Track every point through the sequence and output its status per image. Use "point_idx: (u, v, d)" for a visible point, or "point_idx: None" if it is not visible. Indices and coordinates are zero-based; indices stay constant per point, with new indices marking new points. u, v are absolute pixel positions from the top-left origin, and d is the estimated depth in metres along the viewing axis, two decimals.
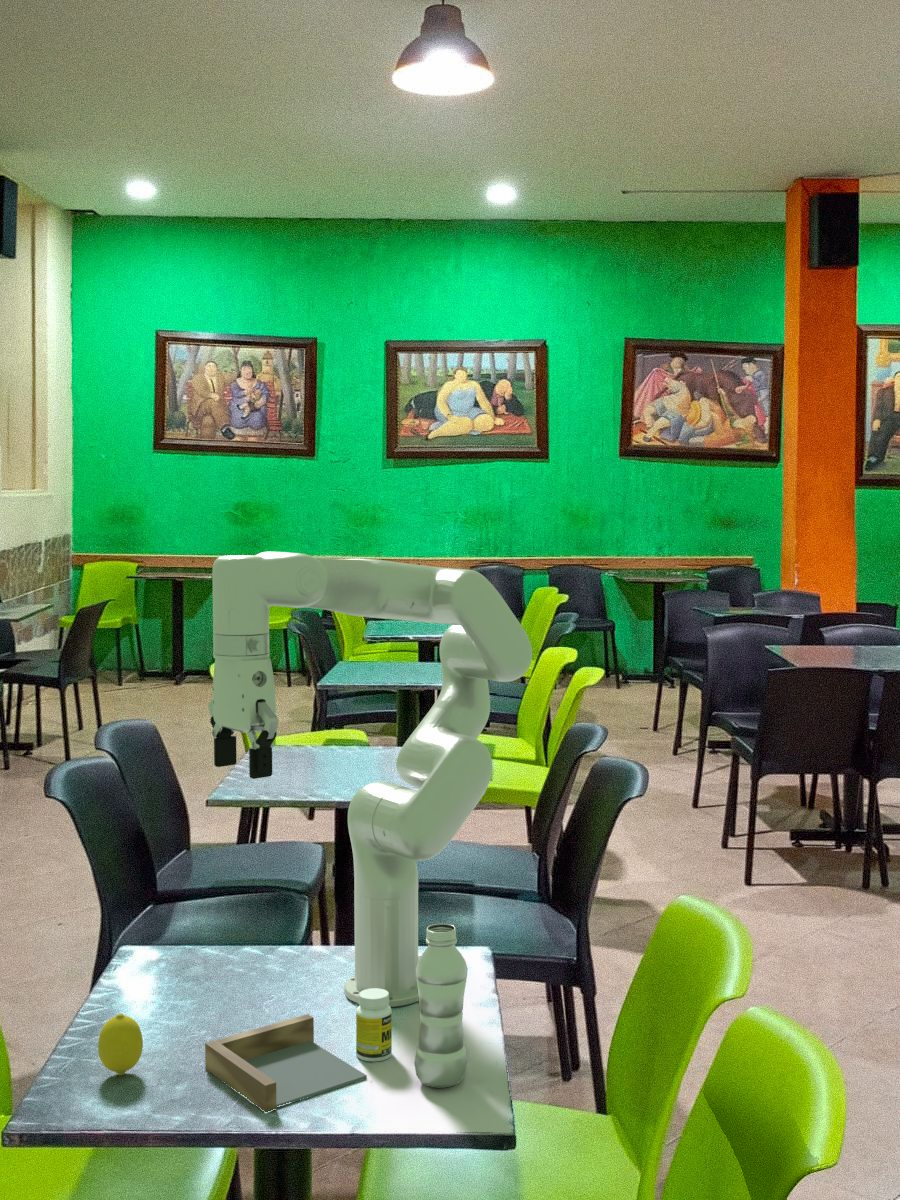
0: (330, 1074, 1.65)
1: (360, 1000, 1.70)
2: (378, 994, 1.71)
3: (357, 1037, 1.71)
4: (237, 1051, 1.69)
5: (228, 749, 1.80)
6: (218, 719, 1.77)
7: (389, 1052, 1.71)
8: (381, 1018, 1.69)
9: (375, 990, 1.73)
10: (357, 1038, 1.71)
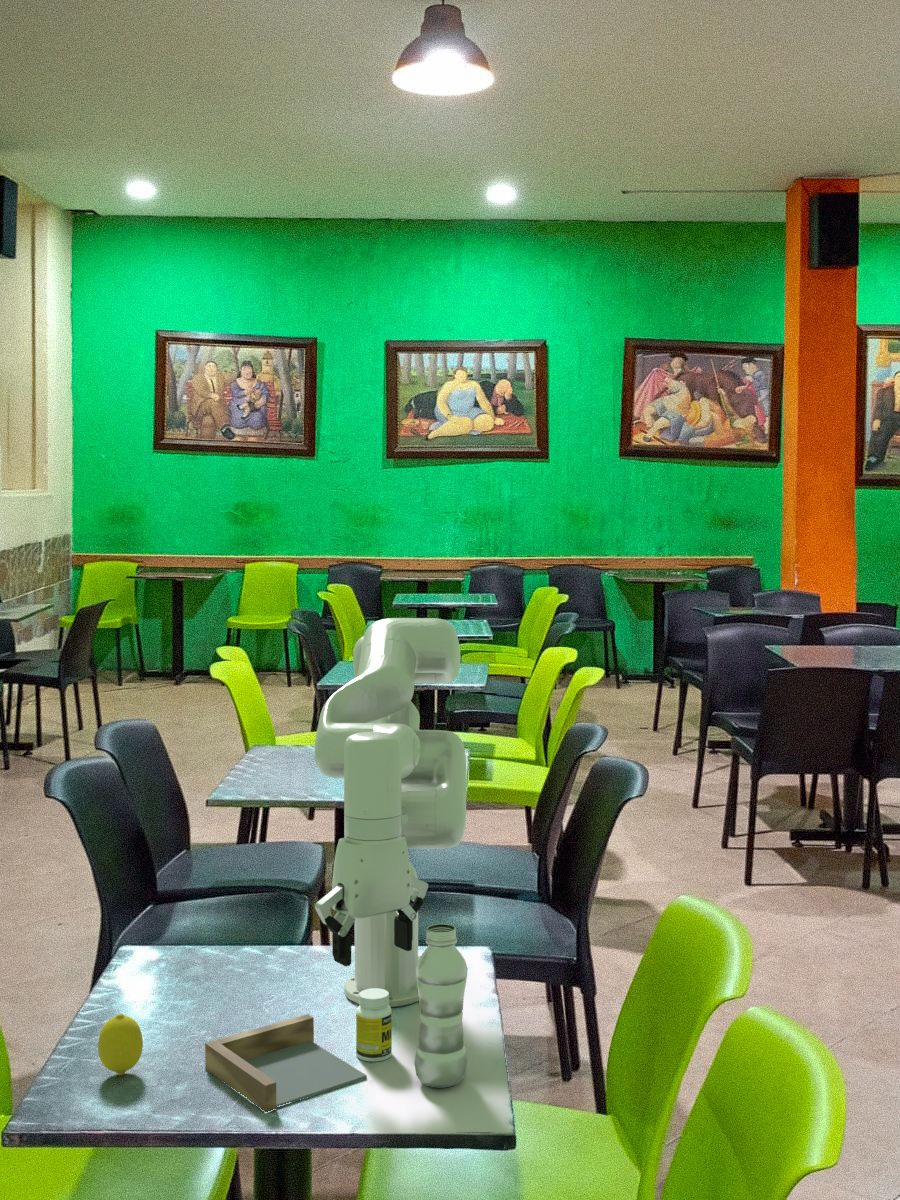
0: (330, 1074, 1.65)
1: (360, 1000, 1.70)
2: (378, 994, 1.71)
3: (357, 1037, 1.71)
4: (237, 1051, 1.69)
5: None
6: (364, 911, 1.67)
7: (389, 1052, 1.71)
8: (381, 1018, 1.69)
9: (375, 990, 1.73)
10: (357, 1038, 1.71)
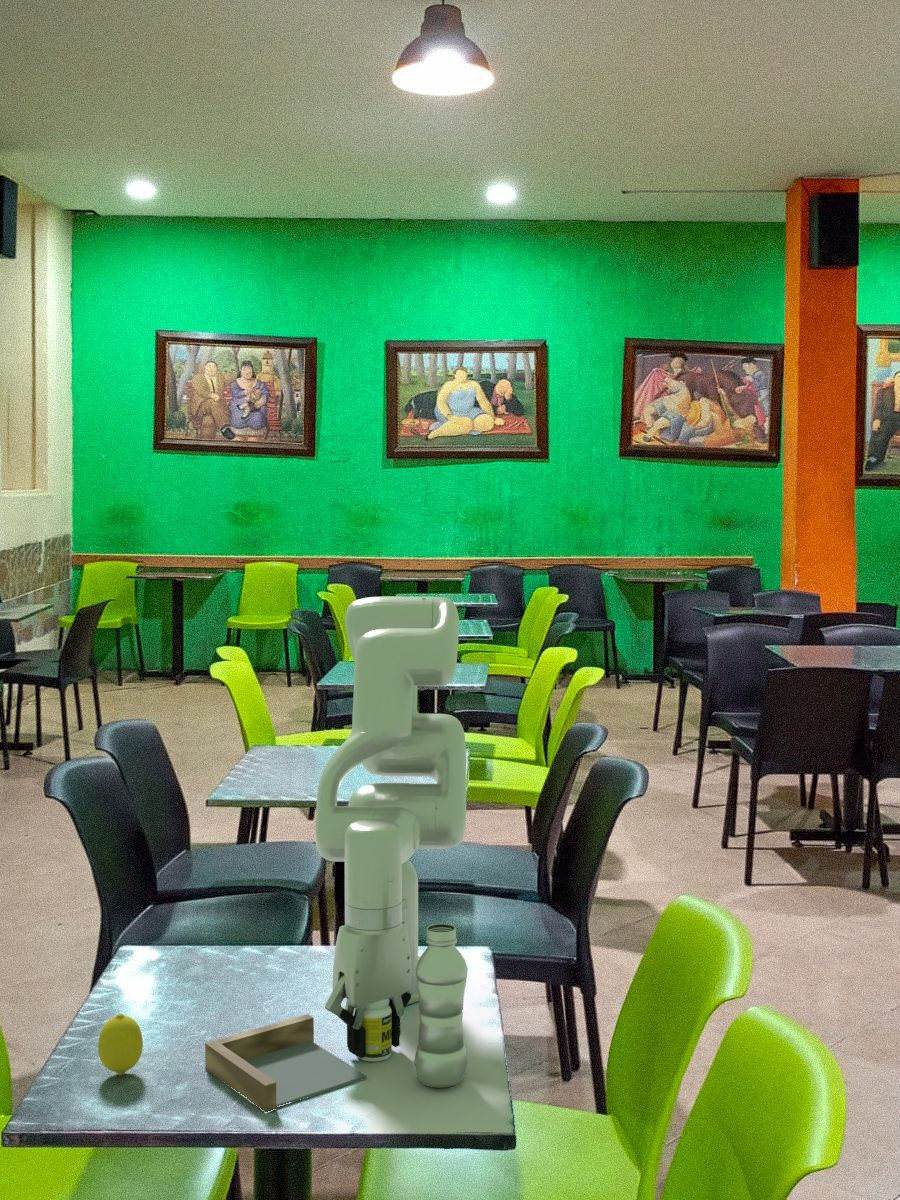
0: (330, 1074, 1.65)
1: None
2: None
3: None
4: (237, 1051, 1.69)
5: None
6: (364, 999, 1.68)
7: (389, 1052, 1.71)
8: (381, 1018, 1.69)
9: None
10: None
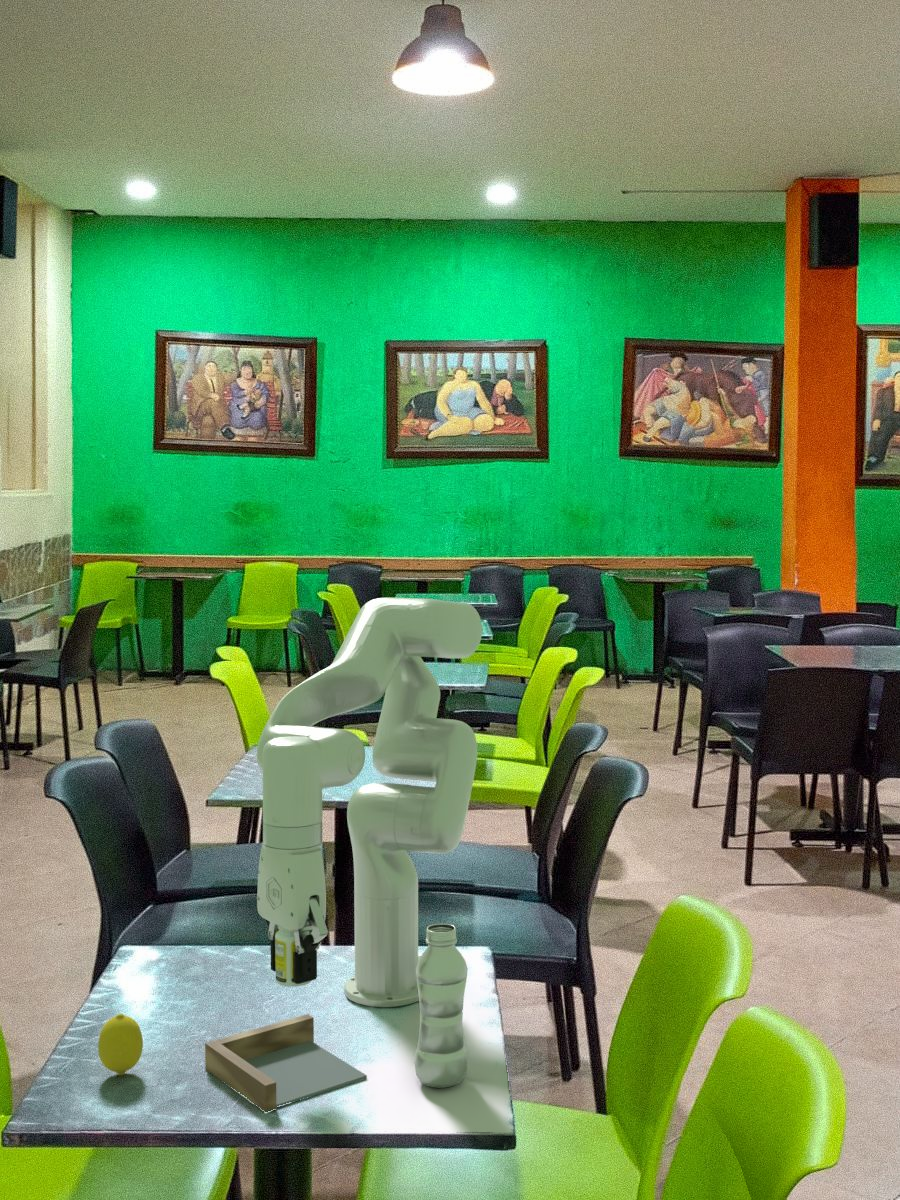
0: (330, 1074, 1.65)
1: None
2: None
3: None
4: (237, 1051, 1.69)
5: None
6: None
7: None
8: None
9: None
10: None
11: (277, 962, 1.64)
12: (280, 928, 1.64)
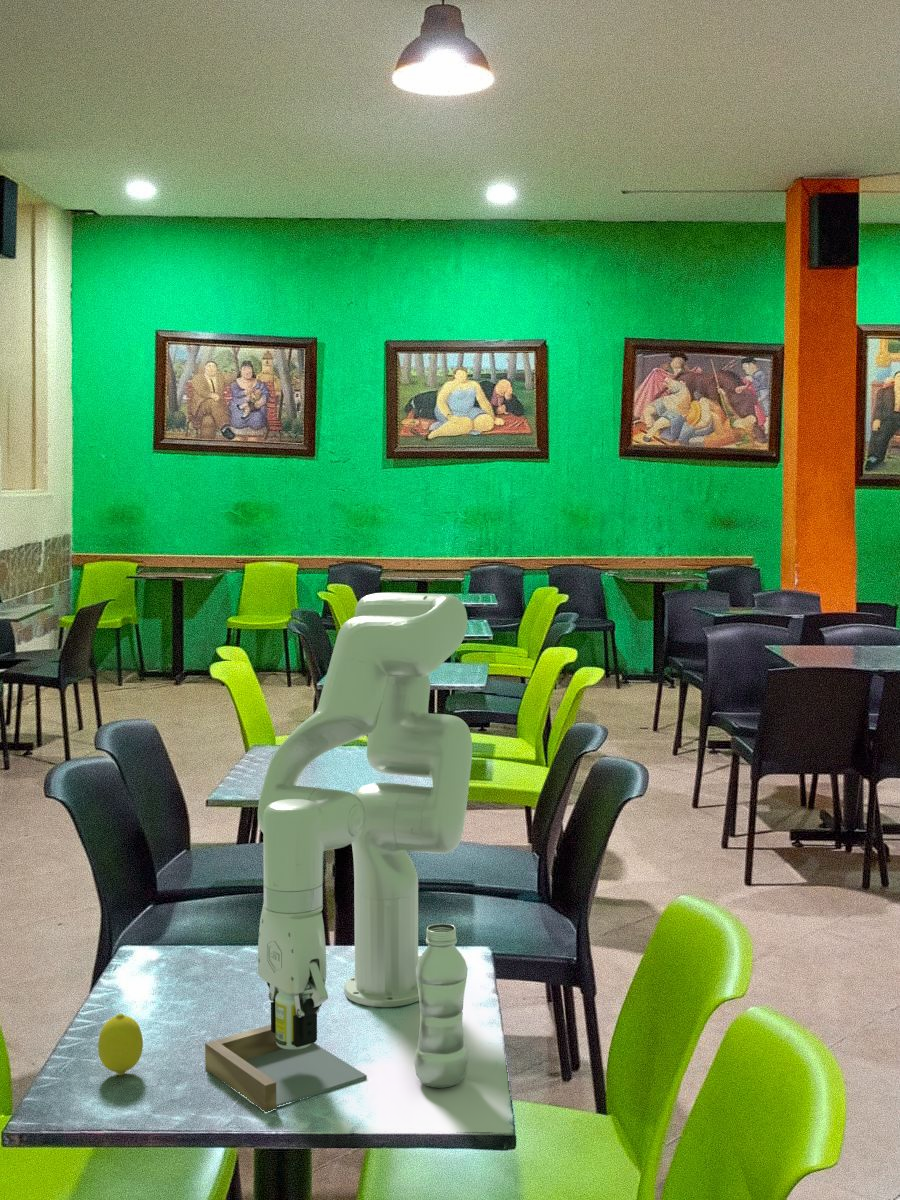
0: (330, 1074, 1.65)
1: None
2: None
3: None
4: (237, 1051, 1.69)
5: None
6: None
7: None
8: None
9: None
10: None
11: (277, 1025, 1.65)
12: (280, 991, 1.65)
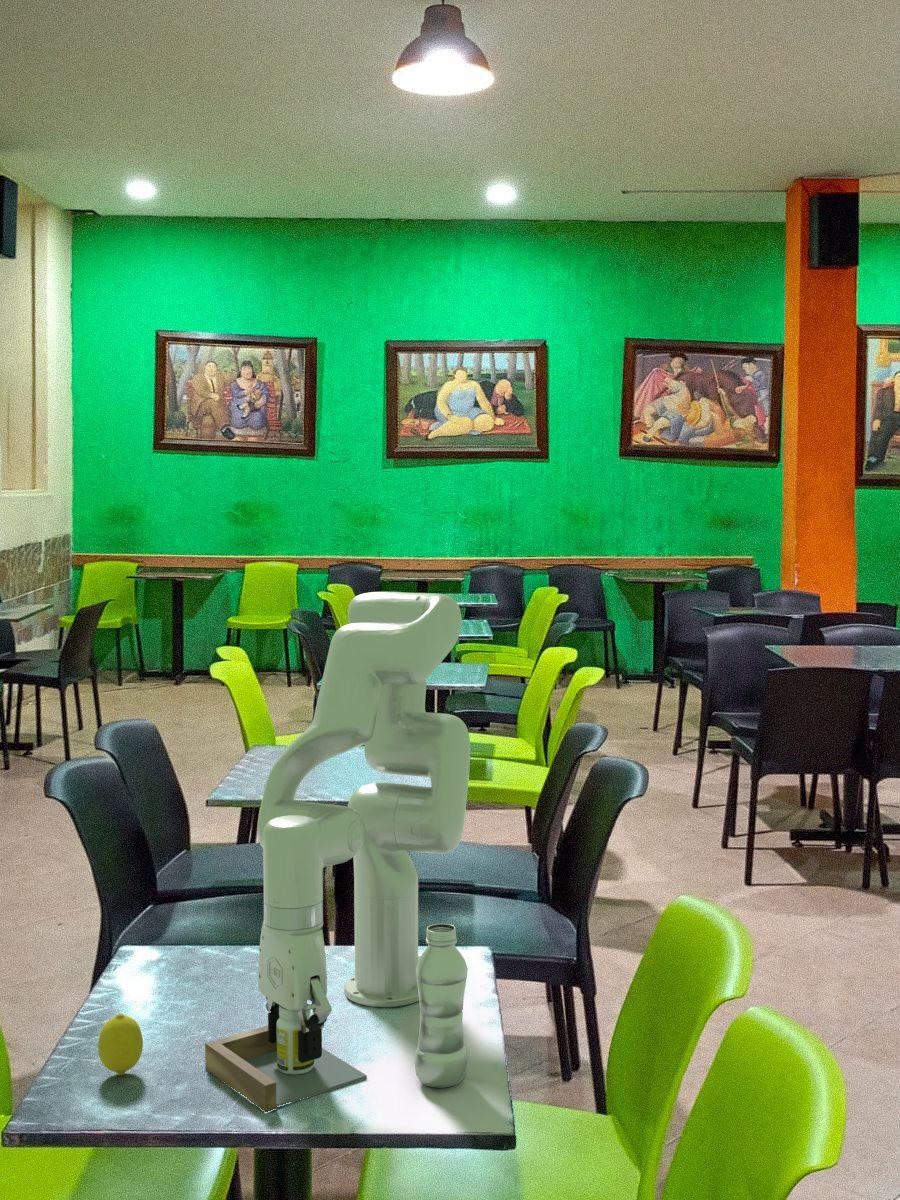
0: (330, 1074, 1.65)
1: None
2: None
3: None
4: (237, 1051, 1.69)
5: None
6: None
7: None
8: None
9: None
10: None
11: (278, 1050, 1.65)
12: (281, 1016, 1.65)
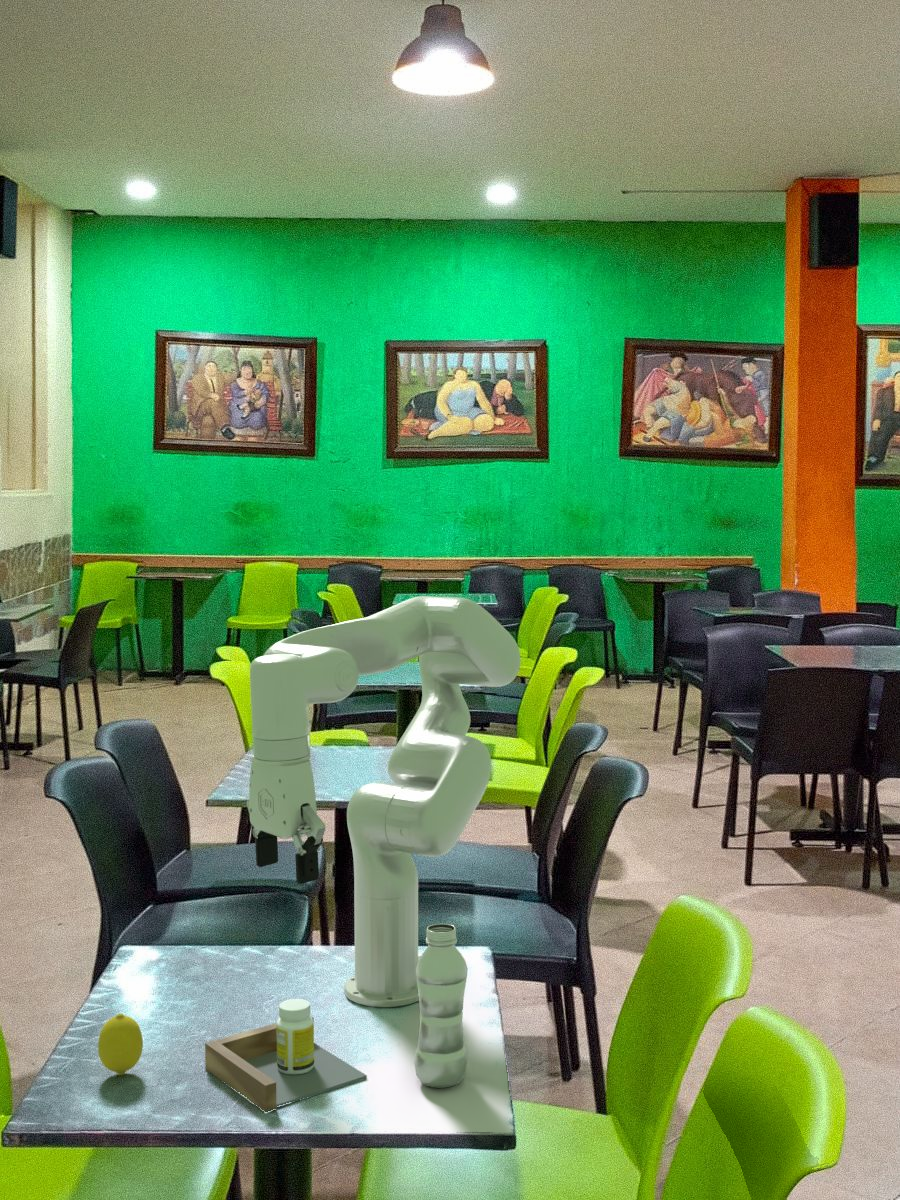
0: (330, 1074, 1.65)
1: (300, 1014, 1.65)
2: (299, 1002, 1.67)
3: (300, 1053, 1.65)
4: (237, 1051, 1.69)
5: None
6: None
7: None
8: None
9: (285, 1004, 1.67)
10: (300, 1054, 1.65)
11: (278, 1050, 1.65)
12: (281, 1016, 1.65)
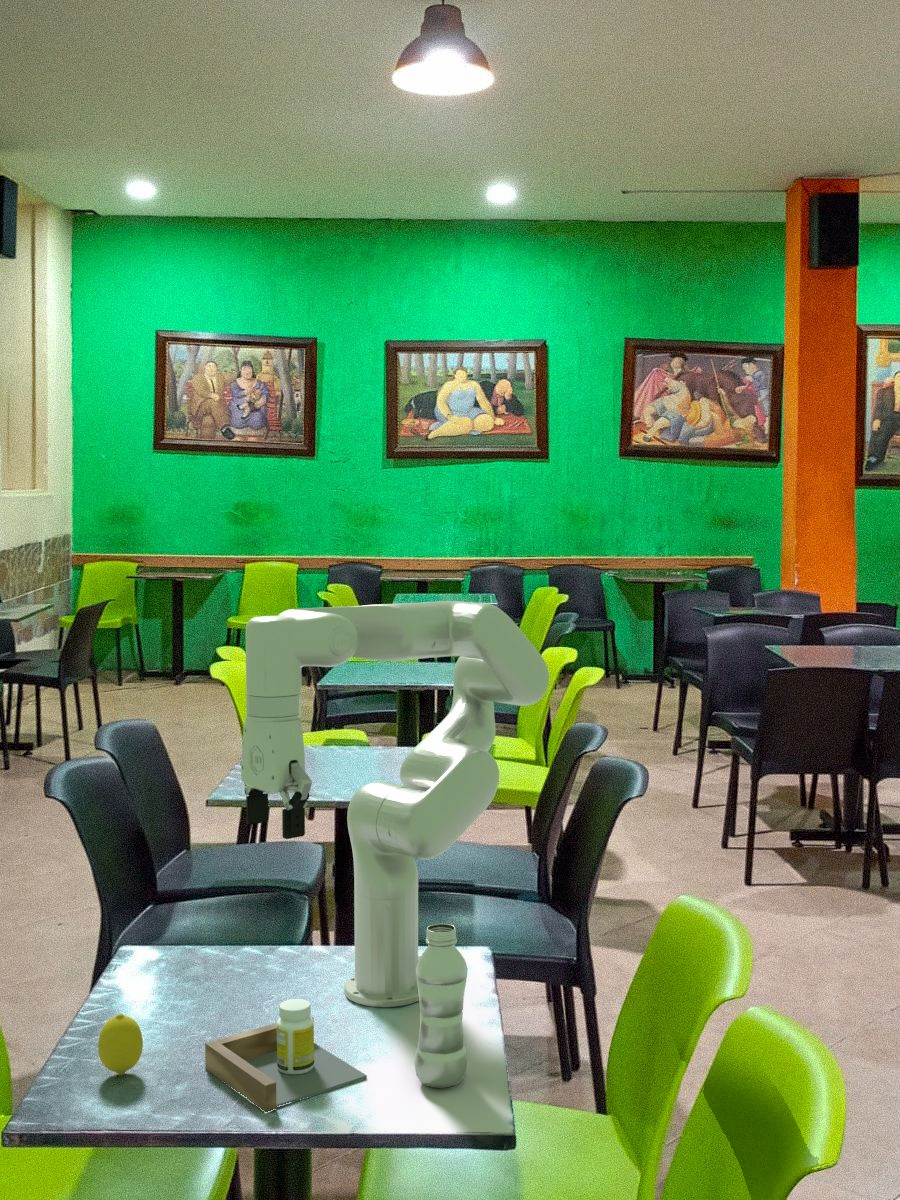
0: (330, 1074, 1.65)
1: (300, 1014, 1.65)
2: (299, 1002, 1.67)
3: (301, 1053, 1.65)
4: (237, 1051, 1.69)
5: None
6: None
7: None
8: None
9: (285, 1004, 1.67)
10: (301, 1054, 1.65)
11: (279, 1050, 1.65)
12: (282, 1016, 1.65)
